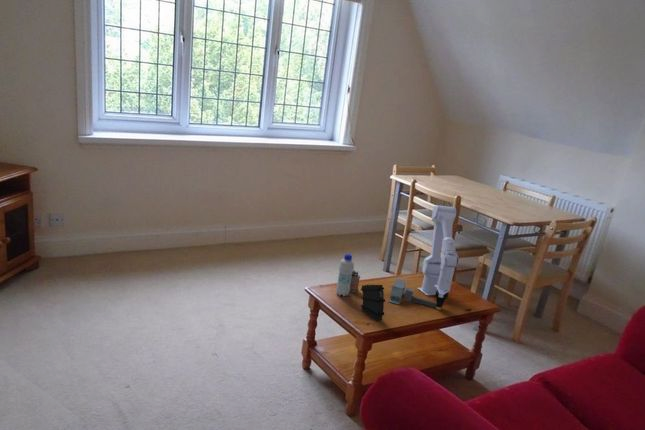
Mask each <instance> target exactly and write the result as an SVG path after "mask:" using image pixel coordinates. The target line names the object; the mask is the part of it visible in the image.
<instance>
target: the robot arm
mask: <svg viewBox="0 0 645 430" xmlns="http://www.w3.org/2000/svg"><path fill="white" fill-rule="evenodd" d="M456 217H457V207H455V206H446V205H440V204H435V205H434V206H433V208H432V213H431V221H432V222H434V223H433V231H432V233H433V234H432V239H431V240H432V241H431V248H430V254H429V255H427V256H426V257H425V258H424V259H423V264H422V269H421V271H422V273H423V275H424V276H423V280H422V284H421V287H418V286H417V289H418V290H419V291H420V292H421V293H422V294H424V295H425V296H435V297H436V303H437V307H440V308H441V309H442V307H443V305H444V302H445V301H446V299H448V297H449V294H450V291H451V285H452V282H453V281H452V280H453V276H454V272H455V268H457V267H458V265H459V262H460V261H459V259H460V258H459V254H458V253H457V252H456V241H455V240H454V239H453V222H455V220H456Z"/></svg>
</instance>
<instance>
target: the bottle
mask: <svg viewBox="0 0 645 430" xmlns="http://www.w3.org/2000/svg"><path fill="white" fill-rule="evenodd" d="M354 265H355V261H354V260H353V255H351V254H349V253H346V254H345V255H344V257H343V258H342V259H341V260H340V263H339V267H338V270H339V271H338V278H337V284H336V288H335V289H336V290H335V292H336V294H337V295H338V296H339V297H341V295H342V297H347V296H348V295H349V293H350V292H351V291H350V283H351V277H352V272H353V270H355V269H354V268H355V267H354Z"/></svg>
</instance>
